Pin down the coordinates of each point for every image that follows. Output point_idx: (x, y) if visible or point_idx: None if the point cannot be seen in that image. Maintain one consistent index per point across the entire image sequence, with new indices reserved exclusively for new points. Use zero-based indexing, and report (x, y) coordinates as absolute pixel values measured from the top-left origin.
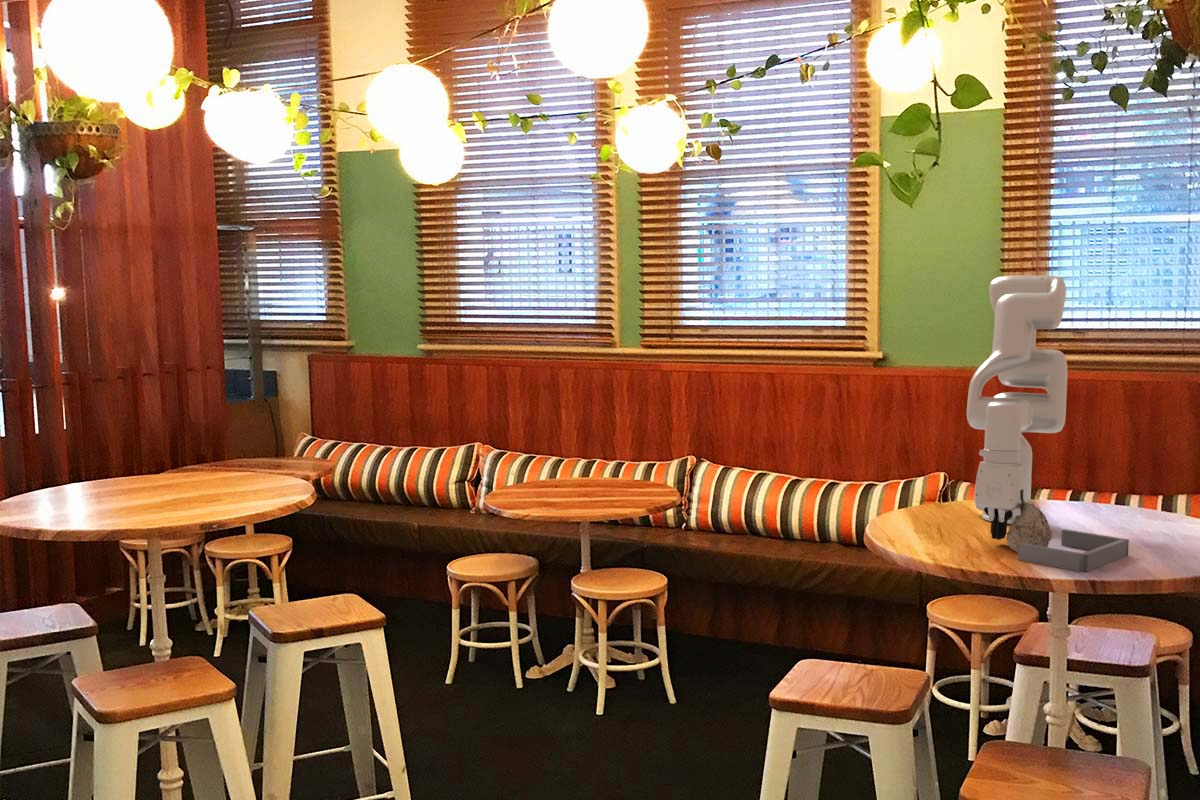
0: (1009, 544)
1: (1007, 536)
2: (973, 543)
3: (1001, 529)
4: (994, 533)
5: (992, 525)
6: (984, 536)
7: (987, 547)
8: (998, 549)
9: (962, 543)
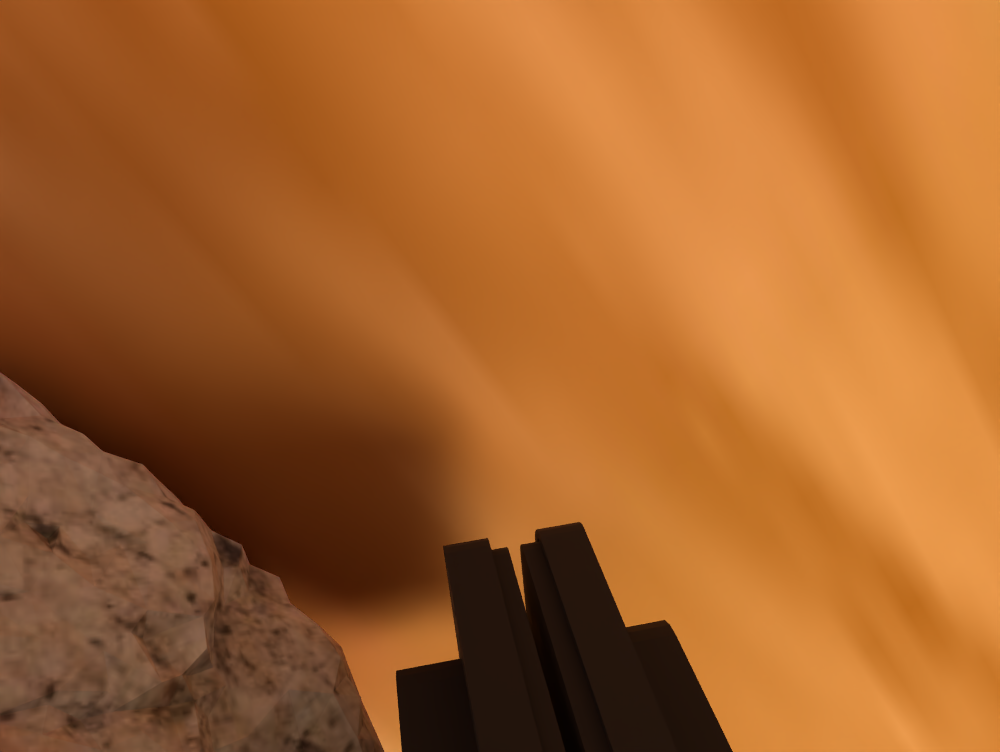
0: (86, 461)
1: (306, 684)
2: (811, 291)
3: (444, 749)
4: (551, 599)
5: (651, 714)
6: (888, 740)
7: (476, 236)
8: (244, 271)
9: (956, 123)
